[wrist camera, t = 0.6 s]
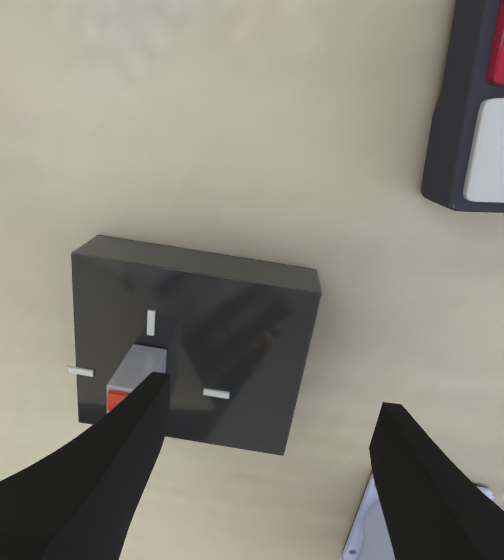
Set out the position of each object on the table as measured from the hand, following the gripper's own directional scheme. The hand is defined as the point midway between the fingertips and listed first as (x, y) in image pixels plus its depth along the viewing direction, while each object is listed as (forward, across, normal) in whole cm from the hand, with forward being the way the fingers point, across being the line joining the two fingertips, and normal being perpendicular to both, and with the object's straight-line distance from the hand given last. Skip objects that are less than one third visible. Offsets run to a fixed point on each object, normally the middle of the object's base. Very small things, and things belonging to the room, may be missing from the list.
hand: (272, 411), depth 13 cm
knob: (+6, +6, +5) cm, 10 cm away
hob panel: (+9, +4, +3) cm, 11 cm away
